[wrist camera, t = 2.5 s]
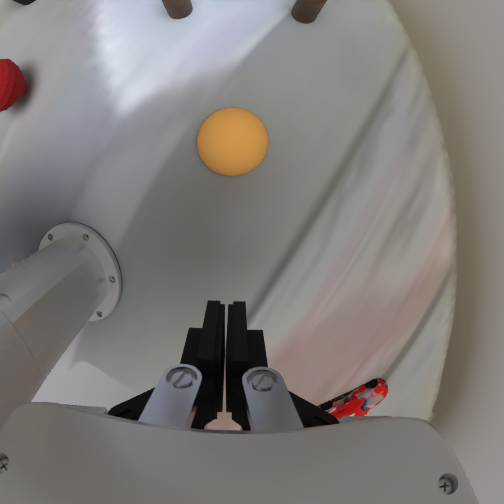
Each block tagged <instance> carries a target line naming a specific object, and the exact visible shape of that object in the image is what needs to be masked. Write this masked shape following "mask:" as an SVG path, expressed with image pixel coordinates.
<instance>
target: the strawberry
mask: <svg viewBox="0 0 504 504" xmlns="http://www.w3.org/2000/svg"><path fill="white" fill-rule="evenodd" d="M26 90H27V85H26V83H25V80H24V77H23V75H22V73H21V71H20V69H19V67H18V66H17V65H16V64H15V63H14V62H12V61H11V60H10V59H0V112H1V111H4V110H7V109H8V108H9V107H11V106H12V105H13V104H14V103H15V102H16V101H17V100H18V99H19V98H20V97H21V96H22V95H23V94H24V93H25V92H26Z"/></svg>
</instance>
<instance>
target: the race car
mask: <svg viewBox="0 0 504 504" xmlns="http://www.w3.org/2000/svg"><path fill="white" fill-rule="evenodd" d="M377 382H378V383H377ZM387 393H388V385H387V384H386V382H385V381H383V380H381V379H377V381H376V380H375V379H373V380H371V381H370V382H367V383H366V387H365V385H362V386H361V387H359V388H357V389H355V390H352V391H350V392H348V393H346V394H344V395H342V396H340V397H338V398H335V399H333V400H332V401H333V403H332V402H331V401H328V402H326V403H323V404H322V405H321V407H320V406H319V408H321V409H323V410H325V411H327V412H329V413H331V414H332V415H334V416H335V417H336V418H340V419H342V417H343V416H364V415H365V414H366V415H367V412H368V411H369V410H370V409H371V408H373V407H374V406H375V405H377V404H379V403H380V402H381V401H382V400H383V399H384V398H385V397H386V395H387Z"/></svg>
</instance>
